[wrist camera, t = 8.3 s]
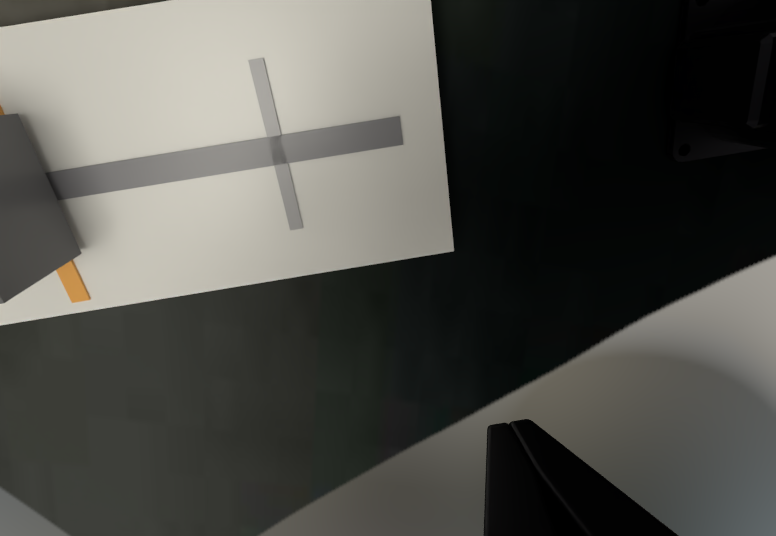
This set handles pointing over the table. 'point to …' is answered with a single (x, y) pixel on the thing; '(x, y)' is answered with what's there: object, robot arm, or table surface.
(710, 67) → the robot arm
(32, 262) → the fader
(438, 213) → the slider track board
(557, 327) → the table surface
